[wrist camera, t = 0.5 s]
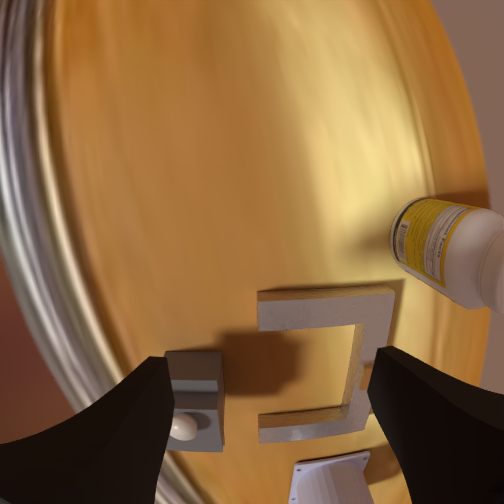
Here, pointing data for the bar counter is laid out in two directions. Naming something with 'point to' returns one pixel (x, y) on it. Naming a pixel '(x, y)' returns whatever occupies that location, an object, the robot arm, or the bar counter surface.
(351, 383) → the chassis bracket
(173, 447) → the servo block
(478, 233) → the supplement bottle
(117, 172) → the bar counter surface
